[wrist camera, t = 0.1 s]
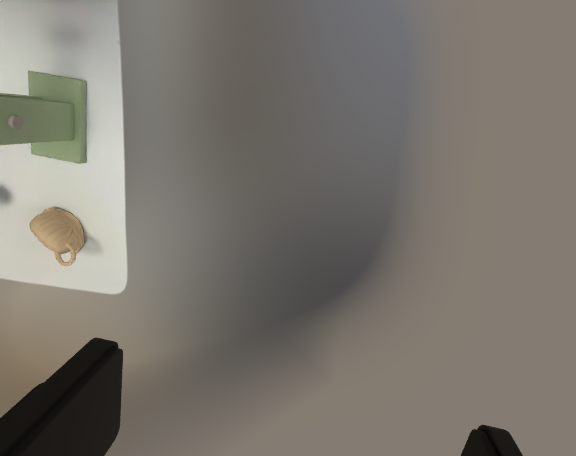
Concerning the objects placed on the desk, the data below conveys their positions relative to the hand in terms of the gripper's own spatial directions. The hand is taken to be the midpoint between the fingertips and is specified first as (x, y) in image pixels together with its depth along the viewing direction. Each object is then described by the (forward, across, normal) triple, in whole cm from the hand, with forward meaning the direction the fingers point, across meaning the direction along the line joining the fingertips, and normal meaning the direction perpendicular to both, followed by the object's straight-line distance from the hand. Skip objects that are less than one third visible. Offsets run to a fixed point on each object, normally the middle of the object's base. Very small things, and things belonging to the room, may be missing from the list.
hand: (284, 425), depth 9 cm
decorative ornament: (+36, +33, +13) cm, 51 cm away
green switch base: (+36, +34, -2) cm, 50 cm away
